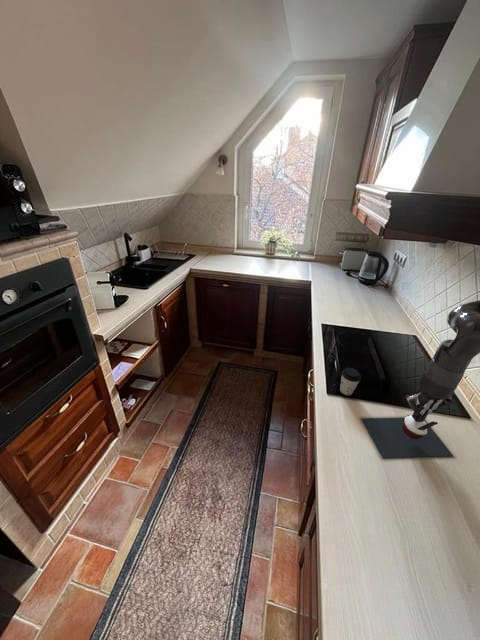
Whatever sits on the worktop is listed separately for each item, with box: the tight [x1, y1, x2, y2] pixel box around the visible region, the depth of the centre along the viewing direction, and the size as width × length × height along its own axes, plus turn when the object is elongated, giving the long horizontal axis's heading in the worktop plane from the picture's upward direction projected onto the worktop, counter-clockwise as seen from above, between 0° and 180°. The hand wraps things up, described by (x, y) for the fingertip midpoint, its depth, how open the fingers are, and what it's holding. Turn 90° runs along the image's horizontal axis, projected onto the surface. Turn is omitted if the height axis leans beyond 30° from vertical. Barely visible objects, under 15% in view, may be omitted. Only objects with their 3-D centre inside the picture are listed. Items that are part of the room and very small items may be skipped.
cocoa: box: [402, 414, 439, 439], centre depth 77 cm, size 10×6×12 cm, turn 149°
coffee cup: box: [339, 367, 362, 396], centre depth 97 cm, size 7×7×10 cm
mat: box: [361, 417, 454, 459], centre depth 82 cm, size 22×14×1 cm, turn 92°
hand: (417, 419), depth 77 cm, fingers closed on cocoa, 1 cm apart
